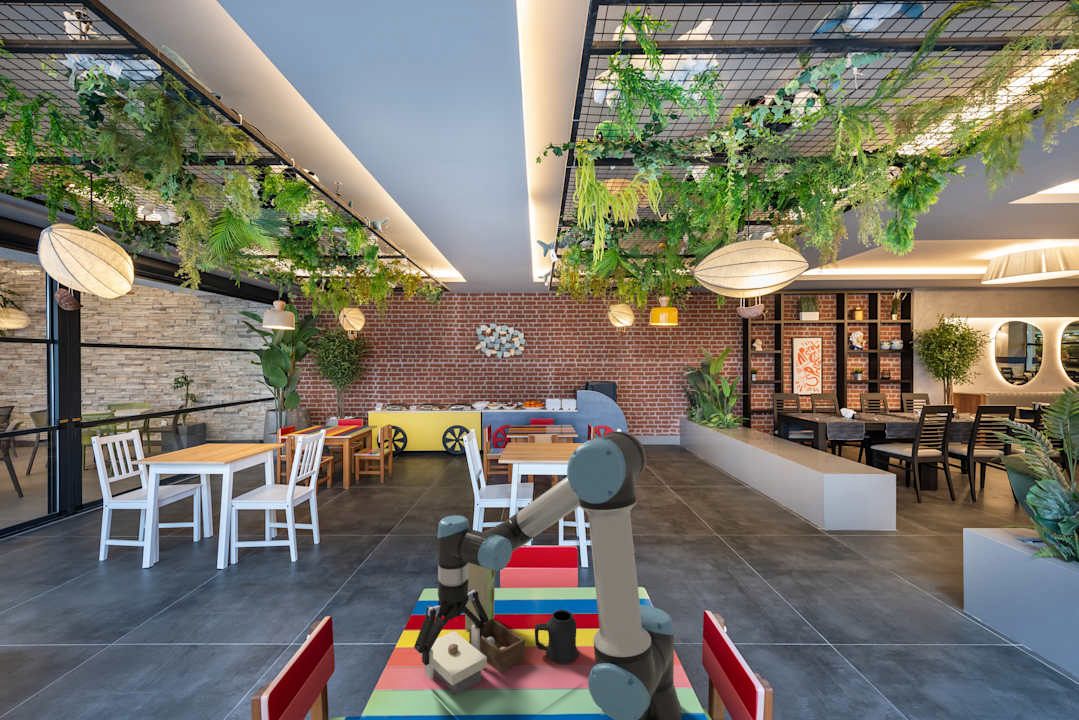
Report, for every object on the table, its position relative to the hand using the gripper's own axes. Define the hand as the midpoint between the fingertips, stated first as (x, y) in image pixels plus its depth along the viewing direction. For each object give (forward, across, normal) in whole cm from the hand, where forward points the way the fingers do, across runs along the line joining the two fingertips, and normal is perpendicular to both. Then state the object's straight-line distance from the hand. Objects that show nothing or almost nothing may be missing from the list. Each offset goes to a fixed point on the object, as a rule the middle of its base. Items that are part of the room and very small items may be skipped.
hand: (453, 663), depth 120 cm
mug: (+4, -25, +12) cm, 28 cm away
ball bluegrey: (+3, -13, -2) cm, 13 cm away
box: (+3, -13, +1) cm, 13 cm away
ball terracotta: (+3, -13, +4) cm, 14 cm away
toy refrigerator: (+4, -18, -13) cm, 22 cm away
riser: (+3, 0, 0) cm, 3 cm away
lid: (-1, 0, 0) cm, 1 cm away
